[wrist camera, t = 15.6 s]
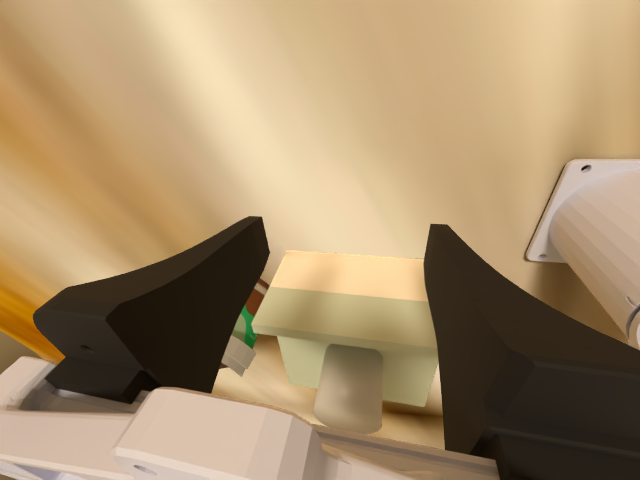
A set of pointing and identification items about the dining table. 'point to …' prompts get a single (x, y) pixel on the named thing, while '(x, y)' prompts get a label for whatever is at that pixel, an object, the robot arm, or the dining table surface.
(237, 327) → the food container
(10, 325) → the dining table surface
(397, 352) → the lid
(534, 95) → the dining table surface
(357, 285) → the box
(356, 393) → the cream rounded piece
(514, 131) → the dining table surface
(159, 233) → the dining table surface
